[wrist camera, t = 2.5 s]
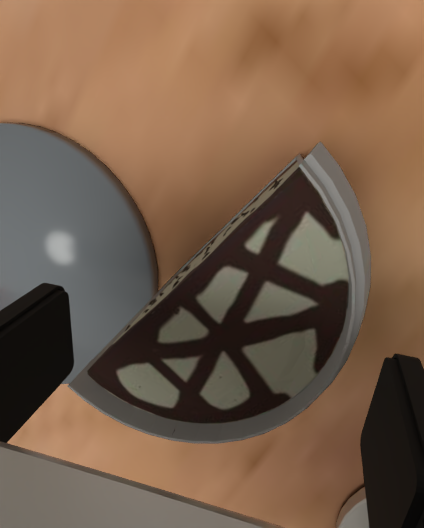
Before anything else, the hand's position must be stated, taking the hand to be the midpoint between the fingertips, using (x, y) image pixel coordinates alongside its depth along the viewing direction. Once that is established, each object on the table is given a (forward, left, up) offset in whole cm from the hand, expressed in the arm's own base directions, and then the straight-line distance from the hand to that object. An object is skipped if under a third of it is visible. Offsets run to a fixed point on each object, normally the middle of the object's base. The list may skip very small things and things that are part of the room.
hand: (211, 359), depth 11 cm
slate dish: (+14, +4, -11) cm, 18 cm away
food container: (-1, +1, -11) cm, 11 cm away
